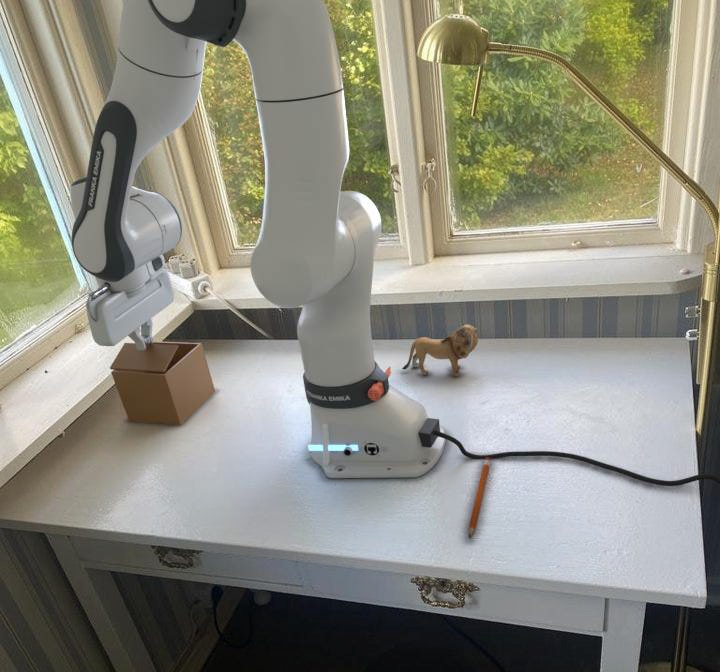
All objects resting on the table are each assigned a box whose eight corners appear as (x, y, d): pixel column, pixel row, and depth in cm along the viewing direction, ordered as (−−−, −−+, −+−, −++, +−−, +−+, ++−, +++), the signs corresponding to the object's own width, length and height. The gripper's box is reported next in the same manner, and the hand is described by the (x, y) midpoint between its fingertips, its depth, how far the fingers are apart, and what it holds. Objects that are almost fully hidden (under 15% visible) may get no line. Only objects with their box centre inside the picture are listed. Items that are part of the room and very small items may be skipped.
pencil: (490, 461, 112) (490, 457, 112) (472, 541, 98) (472, 536, 97) (485, 461, 113) (484, 457, 112) (466, 540, 98) (465, 535, 98)
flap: (178, 346, 132) (177, 345, 131) (164, 372, 128) (163, 371, 128) (125, 344, 136) (124, 342, 135) (110, 369, 133) (109, 367, 132)
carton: (215, 391, 144) (201, 343, 138) (180, 425, 135) (164, 375, 129) (165, 387, 148) (150, 341, 142) (128, 420, 139) (110, 371, 133)
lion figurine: (479, 363, 139) (478, 319, 134) (478, 376, 135) (476, 331, 130) (404, 365, 142) (399, 322, 137) (400, 378, 138) (395, 335, 133)
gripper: (99, 297, 115) (126, 374, 123) (168, 252, 131) (189, 323, 139) (68, 296, 118) (96, 372, 126) (140, 252, 133) (161, 322, 141)
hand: (145, 346), depth 132 cm, fingers closed
